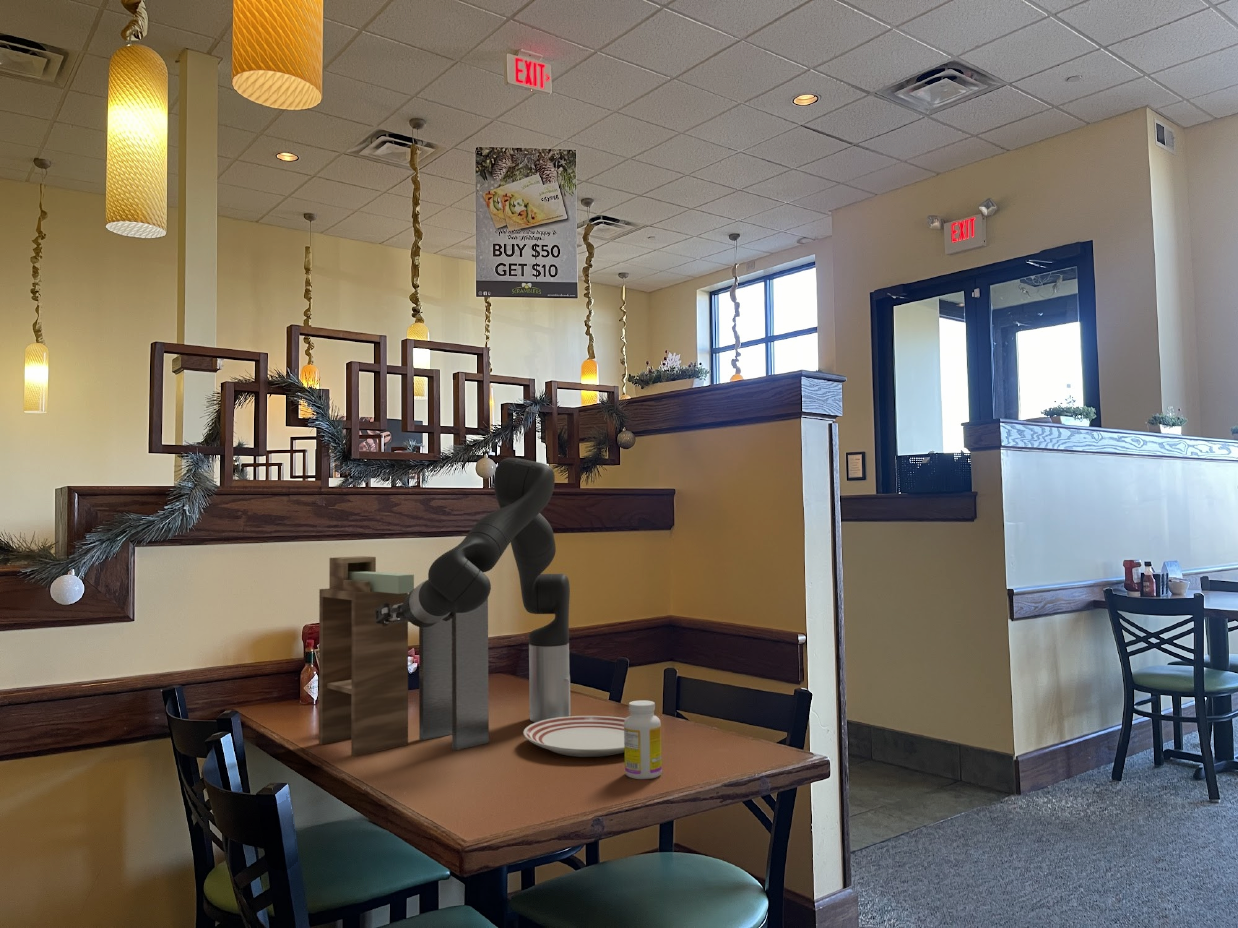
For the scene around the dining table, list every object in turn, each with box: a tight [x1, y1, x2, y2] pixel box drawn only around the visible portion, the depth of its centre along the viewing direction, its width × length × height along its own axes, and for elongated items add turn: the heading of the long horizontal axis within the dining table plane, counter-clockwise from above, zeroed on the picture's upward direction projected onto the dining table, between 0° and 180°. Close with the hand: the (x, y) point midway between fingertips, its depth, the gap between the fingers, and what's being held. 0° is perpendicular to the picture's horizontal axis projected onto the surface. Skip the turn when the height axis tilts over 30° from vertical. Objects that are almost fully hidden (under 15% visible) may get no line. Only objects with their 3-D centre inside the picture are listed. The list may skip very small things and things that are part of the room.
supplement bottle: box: [624, 699, 663, 780], centre depth 163 cm, size 7×7×13 cm
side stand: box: [418, 597, 490, 751], centre depth 189 cm, size 14×8×30 cm, turn 45°
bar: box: [348, 571, 415, 594], centre depth 185 cm, size 22×4×4 cm, turn 45°
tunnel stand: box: [318, 555, 409, 757], centre depth 188 cm, size 15×12×38 cm
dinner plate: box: [522, 715, 627, 758], centre depth 184 cm, size 27×27×3 cm
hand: (405, 620), depth 176 cm, fingers open, 8 cm apart
